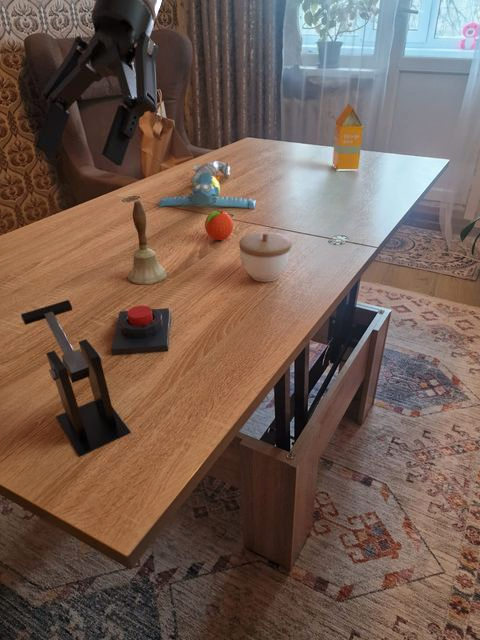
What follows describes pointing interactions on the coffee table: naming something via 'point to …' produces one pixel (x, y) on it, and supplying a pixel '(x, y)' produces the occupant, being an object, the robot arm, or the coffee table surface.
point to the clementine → (219, 225)
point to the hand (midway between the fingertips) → (76, 156)
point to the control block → (142, 334)
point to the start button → (140, 315)
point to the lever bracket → (87, 405)
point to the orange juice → (347, 140)
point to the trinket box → (265, 255)
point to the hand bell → (144, 254)
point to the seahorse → (211, 169)
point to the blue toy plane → (207, 195)
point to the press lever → (61, 338)
